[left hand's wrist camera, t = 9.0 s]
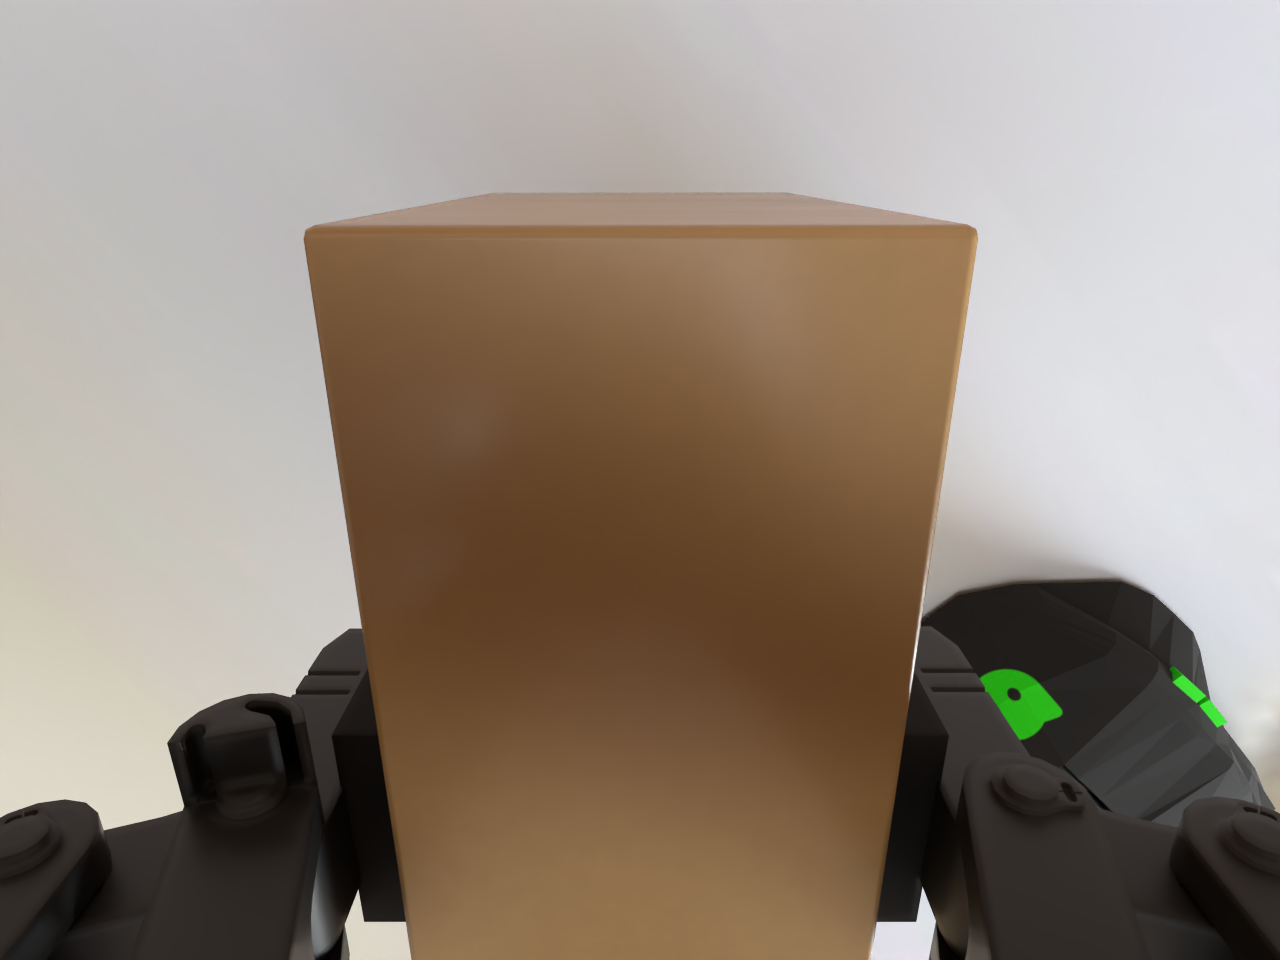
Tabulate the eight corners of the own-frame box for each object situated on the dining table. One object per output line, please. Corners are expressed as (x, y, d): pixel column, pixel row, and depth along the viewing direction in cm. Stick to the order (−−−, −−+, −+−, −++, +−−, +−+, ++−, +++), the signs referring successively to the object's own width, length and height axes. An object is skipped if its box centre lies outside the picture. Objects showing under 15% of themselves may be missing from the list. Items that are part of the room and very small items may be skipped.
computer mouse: (1088, 502, 28) (1157, 554, 24) (1307, 776, 32) (1394, 856, 28) (831, 687, 31) (856, 759, 27) (1063, 915, 35) (1113, 1005, 31)
